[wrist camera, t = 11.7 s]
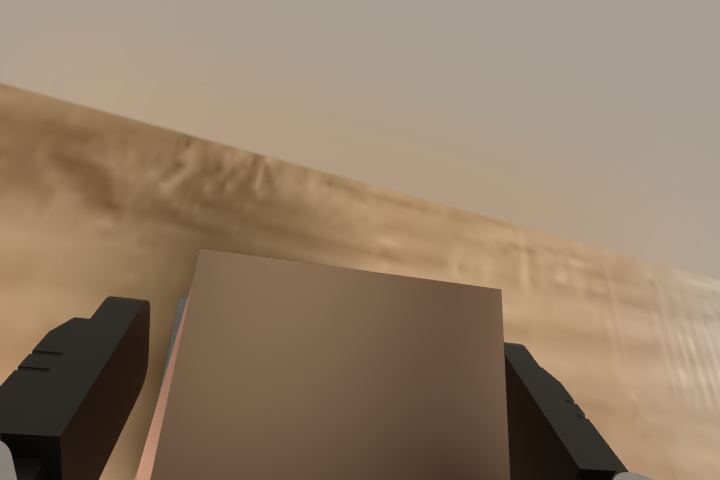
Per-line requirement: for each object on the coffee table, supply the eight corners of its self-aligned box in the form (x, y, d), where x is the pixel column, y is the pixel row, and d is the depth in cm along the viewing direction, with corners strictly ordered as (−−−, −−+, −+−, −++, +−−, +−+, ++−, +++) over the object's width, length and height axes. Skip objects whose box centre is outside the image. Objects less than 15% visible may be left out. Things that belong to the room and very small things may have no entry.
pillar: (200, 497, 14) (108, 673, 5) (228, 337, 16) (199, 247, 7) (354, 502, 15) (518, 658, 6) (363, 351, 17) (501, 289, 8)
